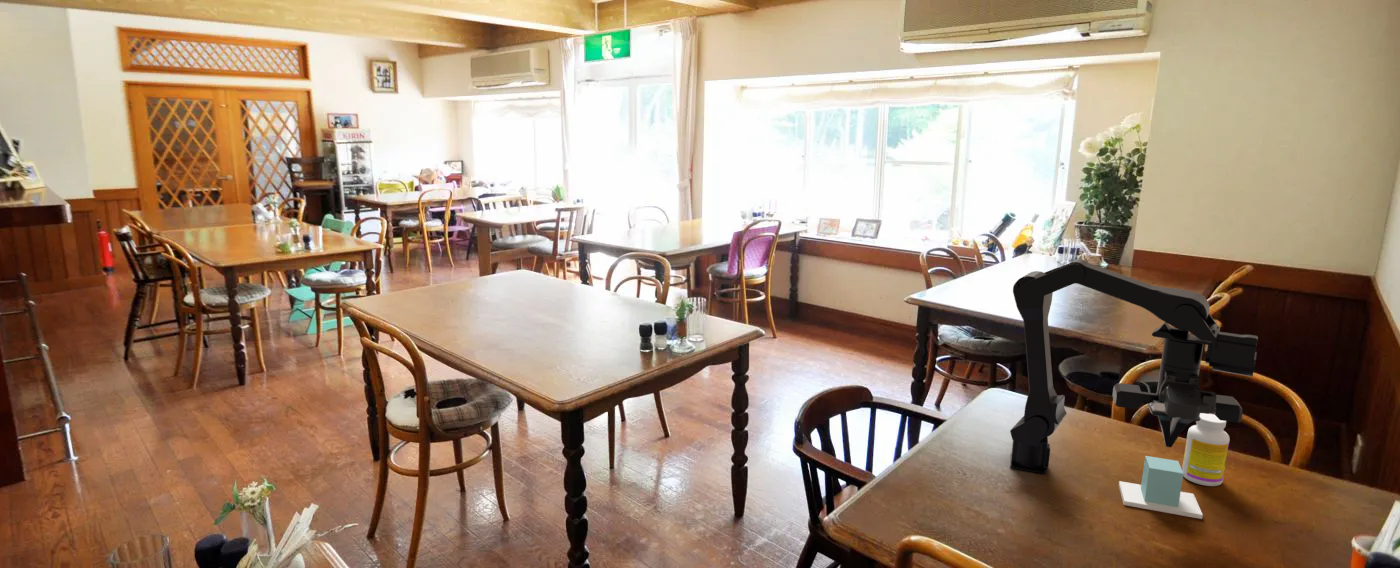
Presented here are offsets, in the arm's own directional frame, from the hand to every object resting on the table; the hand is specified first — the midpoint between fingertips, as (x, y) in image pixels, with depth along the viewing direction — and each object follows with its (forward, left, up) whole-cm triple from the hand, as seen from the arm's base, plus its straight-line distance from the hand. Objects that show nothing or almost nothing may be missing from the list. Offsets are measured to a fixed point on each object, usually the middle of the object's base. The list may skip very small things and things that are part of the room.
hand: (1168, 446), depth 130 cm
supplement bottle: (+9, +13, -11) cm, 19 cm away
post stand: (0, 0, -11) cm, 11 cm away
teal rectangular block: (0, 0, -10) cm, 10 cm away
